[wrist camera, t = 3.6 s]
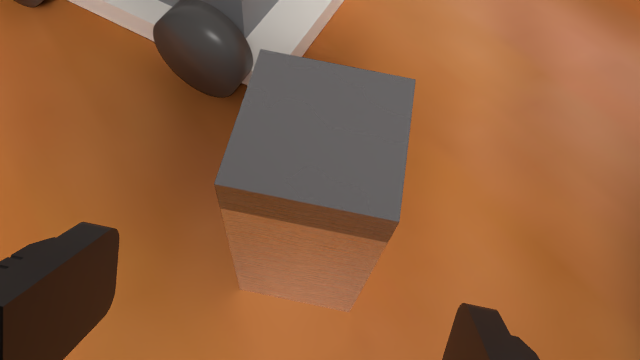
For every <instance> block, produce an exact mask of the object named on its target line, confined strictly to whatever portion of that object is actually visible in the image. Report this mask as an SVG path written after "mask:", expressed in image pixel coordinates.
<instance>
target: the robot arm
mask: <svg viewBox="0 0 640 360" xmlns="http://www.w3.org/2000/svg"><path fill="white" fill-rule="evenodd" d="M118 251H119V233H118V231H117V229H115V228H110V227H105V226H101V225H96V224H91V223H86V222H81V223H79V224H78V225H76V226H74V227H73V228H71V229H70V230H68V231H66V232H65V233H63V234H62V235H60V236H58V237H57V238H55V237H53V238H49V239H46V240H43V241H39V242H36V243H33V244H29V245H28V246H26V247H24V248H22V249H21V250H19V251H17V252H16V253H14V254H12V255H11V257H10V258H9V257H7V258H5V259H4V260H2V261H0V360H63V359H64V358H65V357H66V356H67V355H68V354H69V353H70V352H71V351H72V350H73V349H74V348H75V347H76V346H77V345H78V343H79V342H80V341H81V340H82V339H83V338H84V337H85V336H86V335H87V334H88V333H89V332H90V331H91V330H92V329H93V328H94V327H95V326H96V325H97V324H98V323H99V322H100V320H101V319H102V318H103V317H104V316H105V315H106V313H107V312H108V310H109V308H110V306H111V304H112V301H113V298H114V294H115V288H116V275H117V263H118ZM442 360H540V359H539V358H538V356H537V354H536V353H535V352H534V351H533V350H532V349H531V348H530V347H528V346H527V345H526V344H525V343H524V342H523V341H522V340H521V339H520V338H519V337H516V336H512V335H510V333H509V331H508V329H507V327H506V325H505V324H504V322H503V320H502V318H501V316H500V314H499V313H498V311H497V310H494V309H490V308H485V307H480V306H475V305H471V304H466V303H462V304H461V305H460V307H459V308H458V310H457V313H456V316H455V320H454V323H453V326H452V329H451V333H450V336H449V339H448V342H447V346H446V349H445V352H444V355H443V359H442Z"/></svg>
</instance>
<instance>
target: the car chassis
mask: <svg viewBox="0 0 640 360" xmlns="http://www.w3.org/2000/svg"><path fill="white" fill-rule="evenodd" d="M14 1H16V2H18V3H20V4H22V5H24V6H27V7H36V6H37V5H38V4H40V3H41V2H42V1H44V0H14ZM68 1H70V2H72V3H74V4H76V5H78V6H80V7H82V8H85V9H87V10H89V11H91V12H93V13H95V14H97V15H99V16H101V17H104V18H106V19H108V20H110V21H112V22H114V23H116V24H118V25H120V26H122V27H125V28H127V29H129V30H131V31H133V32H135V33H137V34H139V35H141V36H144V37H146V38H148V39H150V40H152V41H154V42H155V44H156V47H157V49H158V51H159V53H160V54H161V56H162V58H163V59H164V61H165V62H166V63H167V64H168V66H169V67H170V68H171V69H172V70H173V71H174V72H175V73H176V74H177V75H178V76H179V77H180V78H181V79H183V80H184V81H185V82H186V83H188V84H189V85H190V86H192V87H194V88H195V89H197V90H199V91H201V92H203V93H205V94H208V95H210V96H214V97H227V96H230V95H231V94H233V92H234V91H235V90H236V89H237V88H238V86H239V85H240V84H241V83H243V84H245V85H247V86H248V84H249V81H250V78H251V75H252V72H253V69H254V66H255V63H256V60H257V58H258V55H259V52H260V49H263V50H268V51H273V52H278V53H283V54H289V55H294V56H299V57H302V56H303V54H304V53H305V52H306V50H307V49H308V48H309V46H310V45H311V44H312V42H313V41H314V40H315V38H316V37H317V36H318V34H319V33H320V32H321V30H322V29H323V28H324V26H325V25H326V24H327V23H328V21H329V20H330V19H331V17H332V16H333V15H334V13H335V12H336V11H337V9H338V8H339V7H340V5H341V4H342V3H343V1H344V0H68Z"/></svg>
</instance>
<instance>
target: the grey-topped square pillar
mask: <svg viewBox="0 0 640 360" xmlns="http://www.w3.org/2000/svg"><path fill="white" fill-rule="evenodd" d="M414 89H415V79H410V78H405V77H400V76H395V75H390V74H385V73H380V72H375V71H369V70H364V69H359V68H354V67H349V66H344V65H339V64H334V63H329V62H324V61H319V60H314V59H309V58H304V57H299V56H294V55H289V54H283V53H278V52H273V51H268V50H263V49H260V52H259V55H258V58H257V60H256V63H255V66H254V69H253V72H252V75H251V78H250V81H249V84H248V87H247V90H246V93H245V95H244V98H243V101H242V104H241V107H240V110H239V113H238V116H237V119H236V122H235V125H234V128H233V131H232V133H231V136H230V139H229V142H228V145H227V148H226V151H225V154H224V157H223V160H222V163H221V166H220V168H219V171H218V174H217V177H216V180H215V183H214V186H215V190H216V194H217V198H218V202H219V206H220V210H221V214H222V218H223V222H224V226H225V230H226V234H227V238H228V242H229V246H230V250H231V254H232V258H233V262H234V267H235V271H236V275H237V279H238V283H239V287H240V290H245V291H250V292H255V293H259V294H264V295H269V296H274V297H278V298H283V299H288V300H293V301H298V302H302V303H307V304H312V305H317V306H321V307H326V308H331V309H336V310H341V311H345V312H350V310H351V308H352V306H353V304H354V303H355V301H356V299H357V297H358V295H359V294H360V292H361V290H362V288H363V286H364V285H365V283H366V281H367V279H368V277H369V276H370V274H371V272H372V270H373V268H374V267H375V265H376V263H377V261H378V259H379V258H380V256H381V254H382V252H383V250H384V248H385V247H386V245H387V243H388V241H389V239H390V238H391V236H392V234H393V232H394V230H395V229H396V227H397V225H398V223H399V220H400V211H401V202H402V193H403V185H404V176H405V167H406V159H407V150H408V141H409V132H410V124H411V115H412V106H413V97H414Z"/></svg>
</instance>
